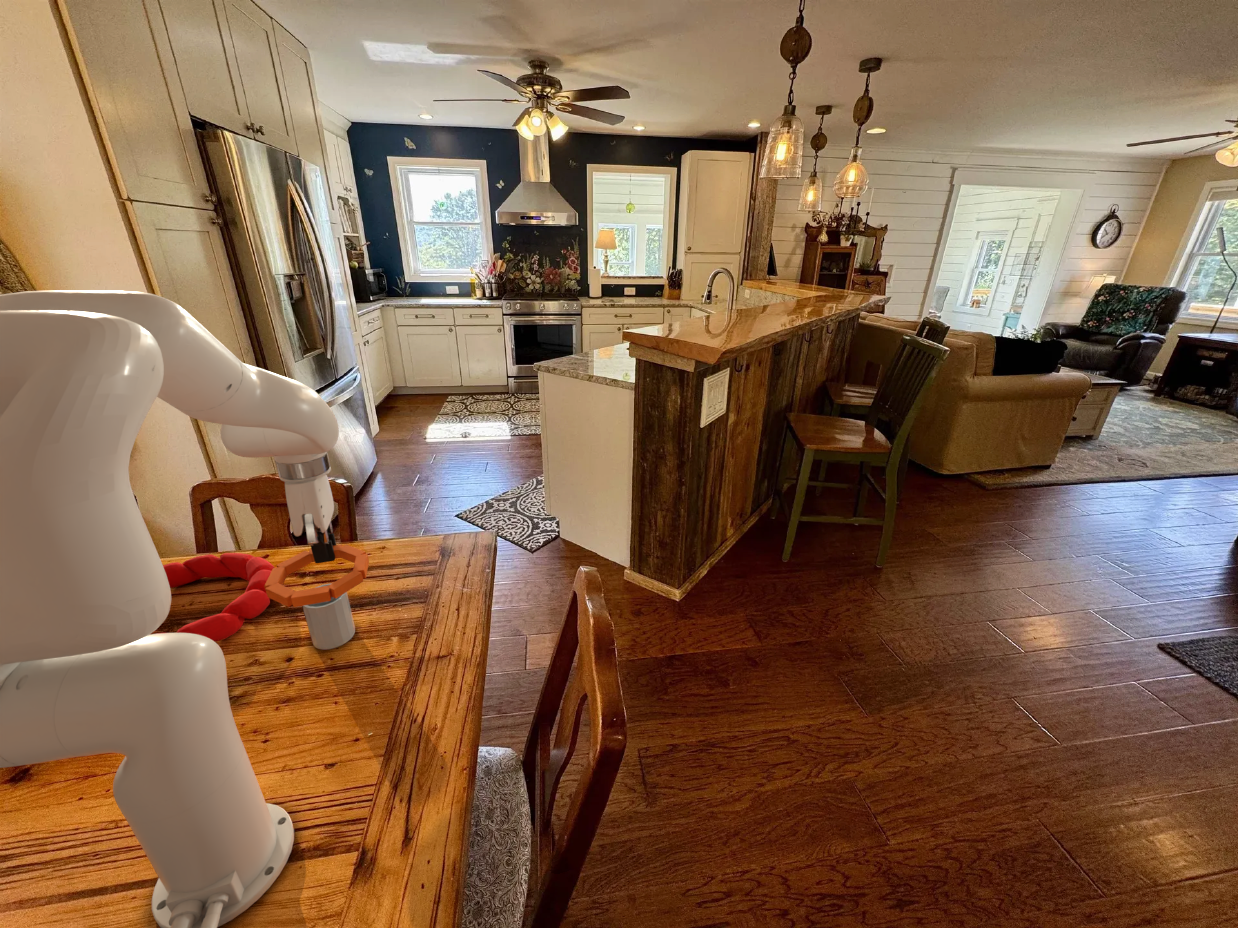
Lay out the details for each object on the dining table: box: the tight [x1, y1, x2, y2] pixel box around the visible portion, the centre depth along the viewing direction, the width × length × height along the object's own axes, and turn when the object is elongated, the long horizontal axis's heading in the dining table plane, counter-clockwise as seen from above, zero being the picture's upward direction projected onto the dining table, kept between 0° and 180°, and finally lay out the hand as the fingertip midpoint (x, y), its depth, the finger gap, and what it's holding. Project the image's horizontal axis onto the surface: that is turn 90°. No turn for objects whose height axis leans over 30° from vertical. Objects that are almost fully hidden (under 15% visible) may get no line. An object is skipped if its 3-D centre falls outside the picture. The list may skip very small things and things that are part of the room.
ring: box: [265, 543, 370, 608], centre depth 84 cm, size 15×15×2 cm
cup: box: [301, 582, 356, 650], centre depth 87 cm, size 7×7×9 cm
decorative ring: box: [156, 552, 275, 643], centre depth 93 cm, size 7×30×30 cm
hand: (326, 556), depth 90 cm, fingers closed on ring, 1 cm apart
